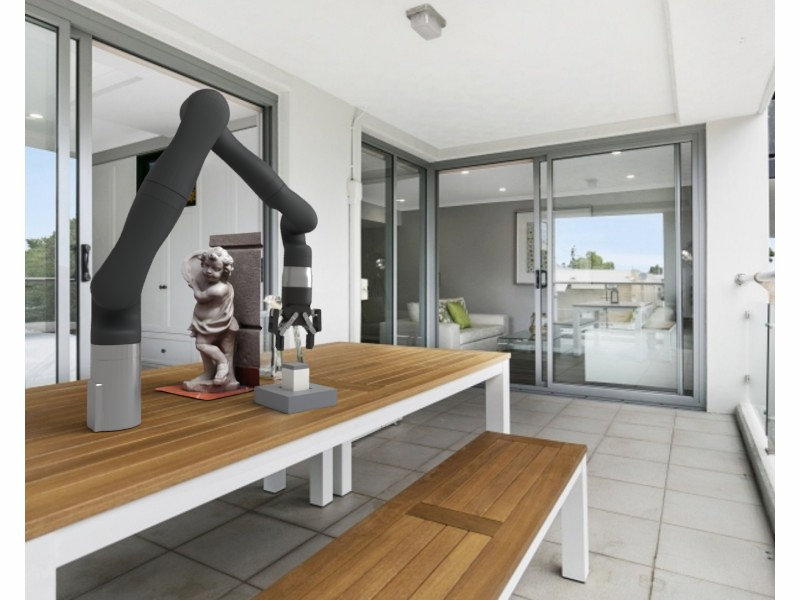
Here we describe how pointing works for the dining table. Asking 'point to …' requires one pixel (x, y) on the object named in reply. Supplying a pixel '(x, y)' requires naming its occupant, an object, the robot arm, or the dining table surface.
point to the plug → (295, 376)
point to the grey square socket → (295, 398)
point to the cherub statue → (225, 315)
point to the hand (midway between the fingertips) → (295, 349)
